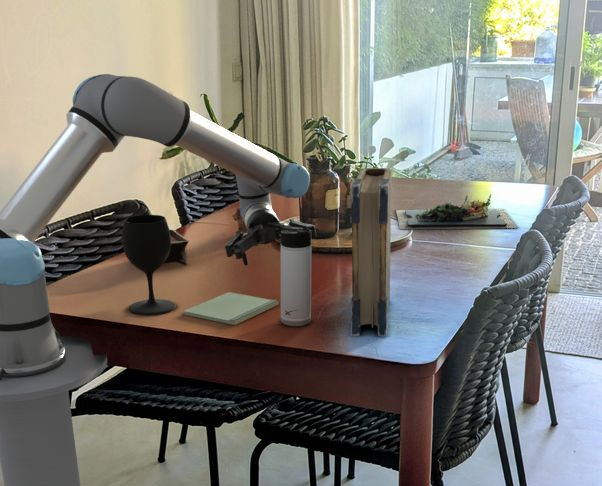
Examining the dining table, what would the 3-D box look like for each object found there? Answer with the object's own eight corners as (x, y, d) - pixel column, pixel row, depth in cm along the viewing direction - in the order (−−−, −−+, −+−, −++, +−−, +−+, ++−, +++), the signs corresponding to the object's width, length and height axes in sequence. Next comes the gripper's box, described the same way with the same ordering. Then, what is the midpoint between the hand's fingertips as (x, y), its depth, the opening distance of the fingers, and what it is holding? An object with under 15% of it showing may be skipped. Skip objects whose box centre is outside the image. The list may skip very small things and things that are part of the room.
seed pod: (214, 217, 247) (260, 203, 241) (230, 194, 260) (274, 180, 254) (233, 256, 253) (278, 243, 247) (247, 232, 266) (291, 219, 260)
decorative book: (386, 336, 171) (388, 185, 160) (350, 335, 172) (350, 185, 161) (391, 300, 193) (393, 164, 182) (359, 299, 194) (359, 164, 183)
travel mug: (288, 329, 176) (288, 233, 169) (276, 318, 182) (275, 225, 174) (316, 324, 179) (317, 230, 171) (303, 314, 184) (303, 222, 177)
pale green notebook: (234, 325, 179) (234, 320, 179) (183, 314, 187) (183, 310, 186) (278, 304, 192) (278, 300, 191) (228, 295, 199) (228, 291, 199)
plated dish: (502, 208, 281) (503, 186, 278) (519, 229, 255) (520, 205, 252) (394, 211, 283) (394, 189, 280) (400, 232, 257) (400, 208, 254)
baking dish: (183, 259, 237) (176, 223, 235) (195, 265, 221) (188, 226, 218) (131, 269, 234) (124, 232, 231) (139, 275, 217) (131, 236, 215)
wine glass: (119, 312, 189) (110, 222, 182) (146, 298, 198) (138, 212, 191) (158, 317, 185) (151, 225, 178) (185, 303, 194) (178, 215, 187)
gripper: (316, 227, 204) (336, 255, 185) (213, 251, 202) (222, 281, 183) (311, 197, 201) (330, 222, 182) (206, 220, 199) (214, 248, 180)
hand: (276, 252), depth 182 cm, fingers open, 13 cm apart
